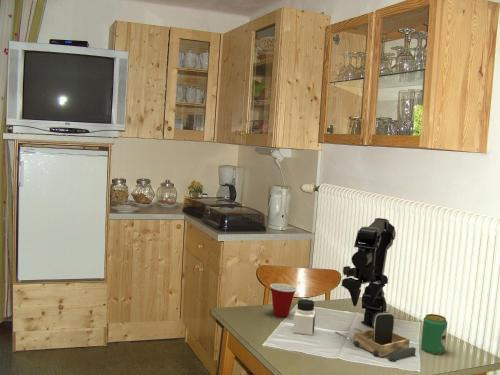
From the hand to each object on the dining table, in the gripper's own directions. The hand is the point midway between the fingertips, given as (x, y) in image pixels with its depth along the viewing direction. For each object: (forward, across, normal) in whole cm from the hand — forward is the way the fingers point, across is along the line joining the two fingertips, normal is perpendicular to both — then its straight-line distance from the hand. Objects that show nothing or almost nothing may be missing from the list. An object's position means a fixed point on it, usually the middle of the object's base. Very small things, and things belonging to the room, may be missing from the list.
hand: (363, 304), depth 201 cm
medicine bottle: (+13, +15, -15) cm, 25 cm away
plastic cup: (+13, +11, -33) cm, 37 cm away
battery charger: (+12, 0, +10) cm, 15 cm away
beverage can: (+13, -14, +21) cm, 28 cm away
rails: (+13, +1, +7) cm, 14 cm away
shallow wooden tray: (+13, +1, +10) cm, 16 cm away
